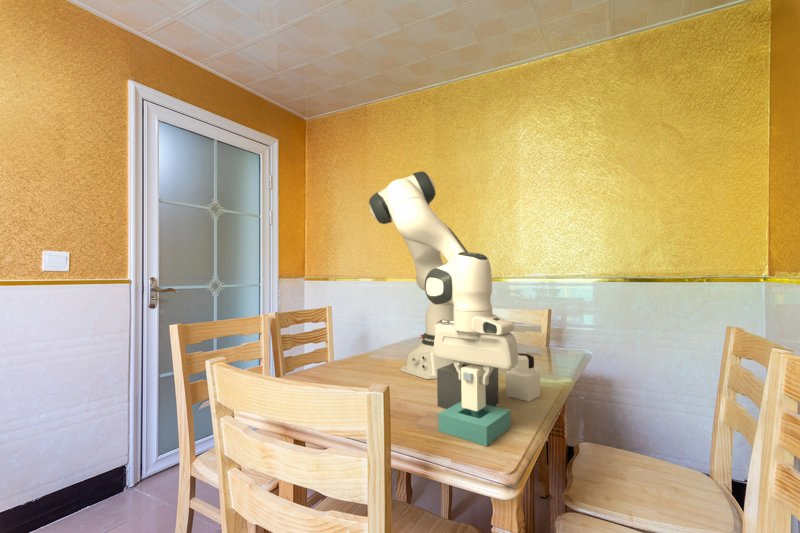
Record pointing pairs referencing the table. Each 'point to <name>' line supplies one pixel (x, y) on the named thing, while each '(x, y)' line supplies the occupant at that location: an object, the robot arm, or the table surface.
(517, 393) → the medicine bottle
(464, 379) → the plug
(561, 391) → the table surface
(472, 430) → the block
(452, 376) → the dark grey square frame
